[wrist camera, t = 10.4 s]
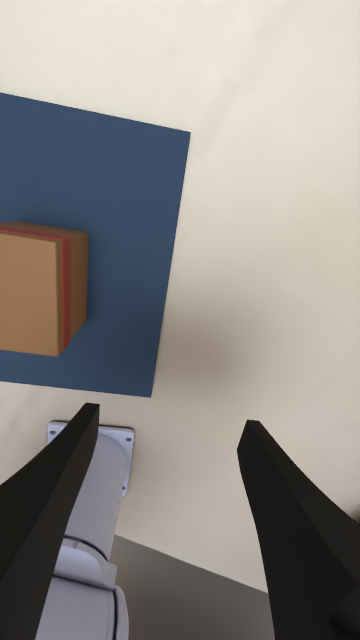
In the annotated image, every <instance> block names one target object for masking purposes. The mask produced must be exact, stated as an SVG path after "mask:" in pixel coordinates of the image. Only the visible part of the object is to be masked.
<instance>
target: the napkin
mask: <svg viewBox="0 0 360 640" xmlns="http://www.w3.org/2000/svg"><path fill="white" fill-rule="evenodd" d="M189 139H190V132H187V131H182V130H177V129H172V128H167V127H163V126H158V125H153V124H148V123H143V122H139V121H134V120H129V119H124V118H120V117H115V116H110V115H105V114H100V113H96V112H91V111H86V110H81V109H76V108H72V107H67V106H62V105H57V104H52V103H48V102H43V101H38V100H33V99H28V98H24V97H19V96H14V95H9V94H5V93H0V223H6V222H19V221H21V222H27V223H33V224H39V225H45V226H51V227H57V228H63V229H70V230H76V231H82V232H87V233H89V245H88V283H87V319H86V321H85V322H84V324H83V325H82V326H81V327H80V329H79V330H78V331H77V333H76V334H75V335H74V337H73V338H72V339H71V340H70V344H69V345H68V346H67V348H66V349H65V350H64V351H62V352H61V354H60V355H59V356H57V357H56V356H48V355H39V354H31V353H23V352H15V351H6V350H0V381H4V382H13V383H22V384H31V385H40V386H50V387H59V388H68V389H77V390H86V391H95V392H104V393H113V394H122V395H132V396H141V397H150V398H151V392H152V386H153V379H154V372H155V366H156V359H157V352H158V346H159V339H160V332H161V326H162V319H163V312H164V306H165V299H166V292H167V286H168V279H169V273H170V266H171V259H172V253H173V246H174V239H175V233H176V226H177V219H178V213H179V206H180V199H181V193H182V186H183V179H184V173H185V166H186V159H187V153H188V146H189Z"/></svg>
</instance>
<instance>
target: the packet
mask: <svg viewBox="0 0 360 640" xmlns="http://www.w3.org/2000/svg"><path fill="white" fill-rule="evenodd" d="M88 245H89V233H87V232H82V231H76V230H70V229H63V228H57V227H51V226H45V225H39V224H33V223H27V222H21V221H19V222H6V223H0V350H6V351H15V352H23V353H31V354H39V355H48V356H56V357H57V356H59V355H60V354H61V352H62V351H64V350H65V349H66V348H67V346H68V345H69V344H70V340H71V339H72V338H73V337H74V335H75V334H76V333H77V331H78V330H79V329H80V327H81V326H82V325H83V324H84V322H85V321H86V319H87V283H88Z"/></svg>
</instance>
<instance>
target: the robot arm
mask: <svg viewBox="0 0 360 640" xmlns="http://www.w3.org/2000/svg"><path fill="white" fill-rule="evenodd" d="M99 409H100V404H94V403H86V404H84V405H83V406H82V408H81V409H80V410H79V411H78V413H77V414H76V415H75V416H74V417H73V419H72V420H71V421H70V422H69V423H63V422H50V423H49V425H48V426H47V434H48V445H47V446H46V447H45V448H44V449H43V450H42V451H41V452H40V453H38V454H37V455H36V456H35V457H34V458H33V459H32V460H31V461H30V462H28V463H27V464H26V465H25V466H24V467H23V468H21V469H20V470H19V471H18V472H17V473H15V474H14V475H13V476H12V477H10V478H9V479H8V480H6V481H5V482H4V483H3V484H1V485H0V640H128V631H129V629H128V628H129V625H128V624H129V622H128V611H127V607H126V602H125V597H124V594H123V591H122V589H121V588H120V587H119V586H116V585H115V578H116V572H117V566H116V565H113V564H111V563H109V561H110V555H111V550H112V544H113V538H114V533H115V527H116V521H117V515H118V510H119V504H120V498H121V497H125V496H126V495H127V490H128V482H129V474H130V466H131V459H132V451H133V443H134V435H135V432H134V431H133V430H132V429H124V428H114V427H104V426H99ZM237 454H238V460H239V466H240V472H241V476H242V479H243V483H244V486H245V490H246V494H247V497H248V501H249V504H250V508H251V511H252V515H253V518H254V522H255V525H256V530H257V534H258V538H259V544H260V549H261V554H262V559H263V564H264V570H265V576H266V582H267V587H268V594H269V599H270V607H271V613H272V619H273V626H274V634H275V640H360V525H359V524H358V523H357V522H356V521H354V520H353V519H352V518H351V517H350V516H349V515H347V514H346V513H345V512H344V511H343V510H341V509H340V508H339V507H338V506H337V505H336V504H335V503H334V502H332V501H331V500H330V499H329V498H328V497H327V496H326V495H325V494H324V493H323V492H322V491H321V490H320V489H319V488H318V487H317V486H316V485H315V484H314V483H313V482H312V481H311V480H310V479H309V478H308V477H307V476H306V475H305V474H304V473H303V472H302V471H301V470H300V469H299V468H298V467H297V466H296V464H295V463H294V462H293V461H292V460H291V459H290V458H289V456H288V455H287V454H286V453H285V452H284V451H283V449H282V448H281V447H280V446H279V445H278V443H277V442H276V441H275V440H274V439H273V437H272V436H271V435H270V434H269V432H268V431H267V430H266V429H265V428H264V426H263V425H262V424H261V423H260V422H259V421H255V420H247V422H246V424H245V427H244V430H243V433H242V436H241V439H240V442H239V445H238V448H237Z"/></svg>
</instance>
